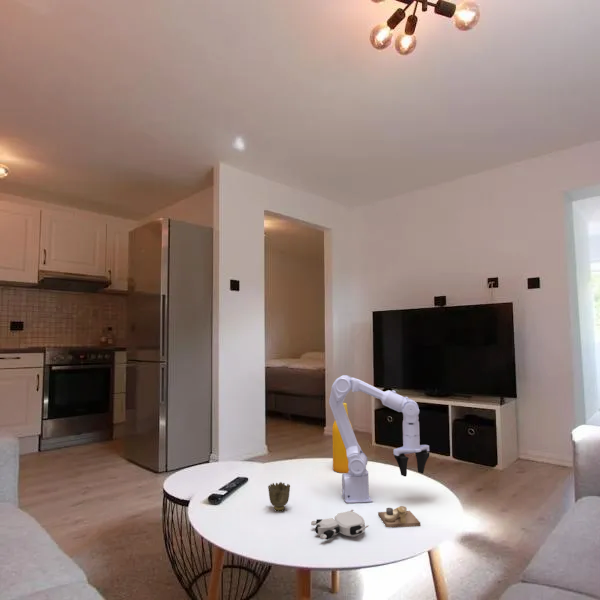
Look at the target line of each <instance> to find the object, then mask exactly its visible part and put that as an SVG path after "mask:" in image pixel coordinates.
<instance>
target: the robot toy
mask: <svg viewBox="0 0 600 600" xmlns="http://www.w3.org/2000/svg"><path fill="white" fill-rule="evenodd" d="M310 523H311V526H315V528H314V531H315V534H317V535H318V536H319V537H320V539H322V540H329V539H331V538H332V537H334V536H338V534H339V533H340V534H342V535H344V536H347V537H352V538H356V537H357V536H359V535H362V534H363V533H364V532H365V530H366V529H367V528H369V527H370V525H369V524H367V525H366V524H365V520H364V518H363V516H361V515H360V514H359V513H357V512H355V511H354V509H351V510H348V511H344V512H343V511H342V512H339V513H336V515H335V516H334V518H323V519H322V518H321V519H320V518H319V519H318V518H317V519H316V520H312V521H311V522H310Z"/></svg>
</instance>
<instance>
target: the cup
mask: <svg viewBox="0 0 600 600" xmlns="http://www.w3.org/2000/svg"><path fill="white" fill-rule="evenodd" d="M285 484H286V483H285V482H282V481H280V482H279V483H278V482H276V483H274V482H273V483H270V484H268V486H267V487H268V488H267V490H268V498H269V501H270V504H271V505H272V506H273V510H274V511H275V510H276V511H275V512H283V511H284V510H285V506H286V505H287V504H288V502H289V499H290V491H291V490H290V489H291V485H290V484H289V483H287V484H286V485H285ZM282 510H283V511H282Z"/></svg>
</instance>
